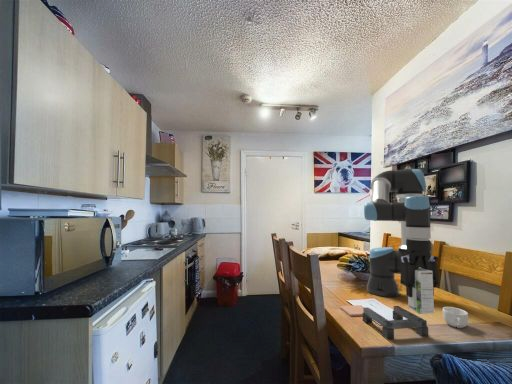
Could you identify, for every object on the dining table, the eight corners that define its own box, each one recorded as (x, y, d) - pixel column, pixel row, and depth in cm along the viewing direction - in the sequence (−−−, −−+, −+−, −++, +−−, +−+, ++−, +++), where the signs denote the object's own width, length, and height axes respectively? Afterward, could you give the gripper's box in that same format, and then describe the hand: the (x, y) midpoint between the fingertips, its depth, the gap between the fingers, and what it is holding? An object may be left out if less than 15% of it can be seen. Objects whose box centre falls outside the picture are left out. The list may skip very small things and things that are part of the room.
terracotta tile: (360, 306, 113) (360, 305, 113) (373, 315, 104) (373, 313, 104) (339, 308, 112) (339, 306, 112) (350, 316, 103) (350, 314, 103)
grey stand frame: (398, 318, 101) (398, 305, 102) (428, 336, 87) (427, 321, 88) (362, 320, 99) (362, 307, 99) (387, 339, 85) (386, 323, 85)
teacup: (441, 319, 101) (440, 305, 101) (465, 323, 98) (464, 308, 98) (446, 329, 92) (446, 314, 93) (473, 334, 89) (472, 318, 89)
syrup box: (407, 307, 91) (405, 266, 93) (422, 307, 92) (420, 266, 93) (419, 314, 86) (417, 270, 87) (435, 313, 86) (433, 270, 87)
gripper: (432, 237, 96) (435, 300, 94) (387, 238, 93) (388, 303, 91) (450, 240, 88) (453, 308, 87) (401, 240, 86) (404, 311, 84)
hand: (420, 305), depth 89 cm, fingers closed on syrup box, 6 cm apart
